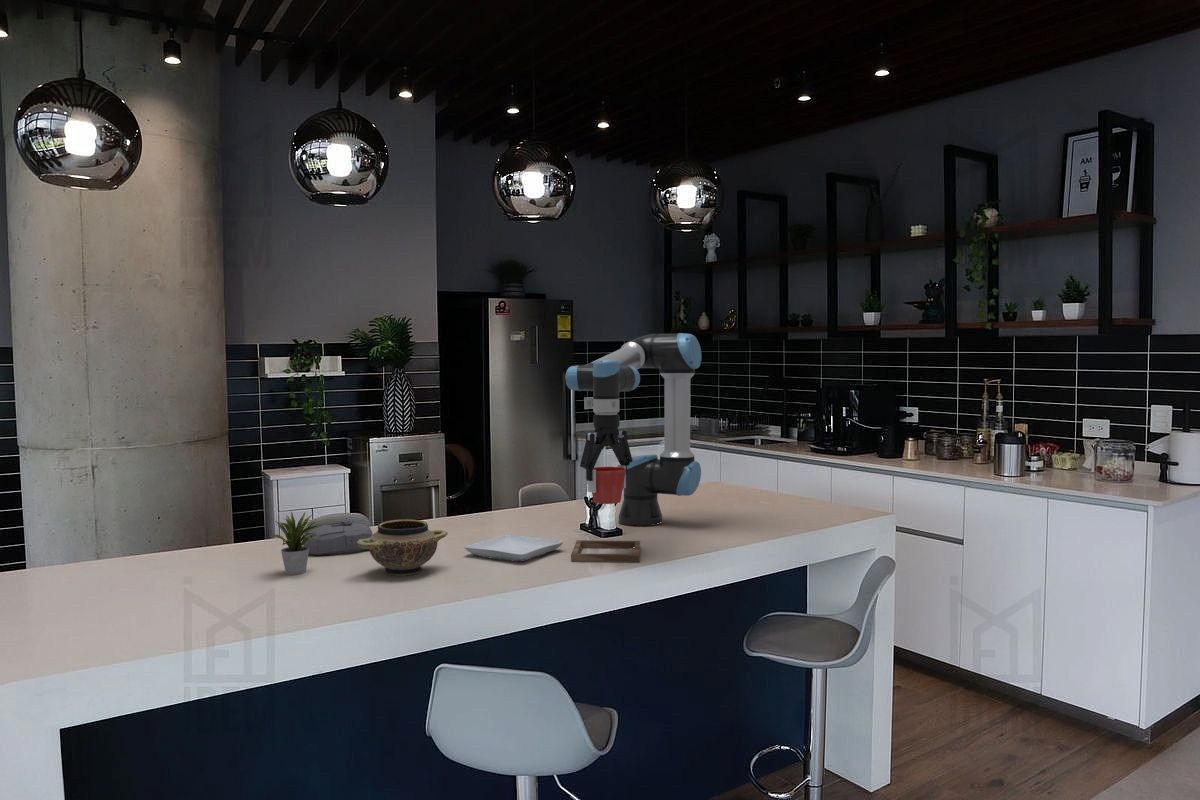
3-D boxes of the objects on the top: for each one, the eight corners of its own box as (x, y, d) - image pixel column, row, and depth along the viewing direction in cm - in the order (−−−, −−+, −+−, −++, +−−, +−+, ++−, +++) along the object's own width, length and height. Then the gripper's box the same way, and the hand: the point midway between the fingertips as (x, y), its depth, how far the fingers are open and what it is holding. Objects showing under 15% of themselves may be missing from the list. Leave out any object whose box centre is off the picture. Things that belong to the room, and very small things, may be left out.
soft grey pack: (364, 542, 268) (297, 550, 258) (364, 515, 268) (296, 522, 258) (378, 552, 255) (307, 560, 245) (377, 523, 255) (307, 530, 245)
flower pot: (590, 498, 256) (589, 466, 255) (627, 499, 255) (627, 466, 254) (585, 505, 245) (585, 471, 245) (624, 505, 244) (624, 471, 244)
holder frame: (576, 546, 261) (576, 540, 260) (640, 547, 259) (640, 540, 259) (571, 561, 242) (570, 554, 241) (639, 562, 240) (639, 555, 240)
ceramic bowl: (362, 593, 219) (365, 539, 215) (347, 562, 234) (350, 511, 230) (455, 582, 231) (459, 530, 227) (436, 552, 246) (439, 504, 242)
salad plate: (506, 544, 267) (506, 533, 266) (564, 551, 256) (564, 540, 256) (462, 557, 248) (461, 545, 248) (522, 566, 238) (522, 554, 237)
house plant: (312, 580, 222) (311, 517, 221) (259, 580, 223) (257, 517, 222) (330, 566, 236) (329, 507, 236) (280, 566, 237) (279, 507, 236)
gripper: (584, 416, 238) (584, 496, 239) (644, 412, 253) (645, 486, 255) (566, 415, 244) (567, 492, 245) (627, 410, 259) (627, 484, 260)
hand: (607, 489), depth 250 cm, fingers closed on flower pot, 11 cm apart
